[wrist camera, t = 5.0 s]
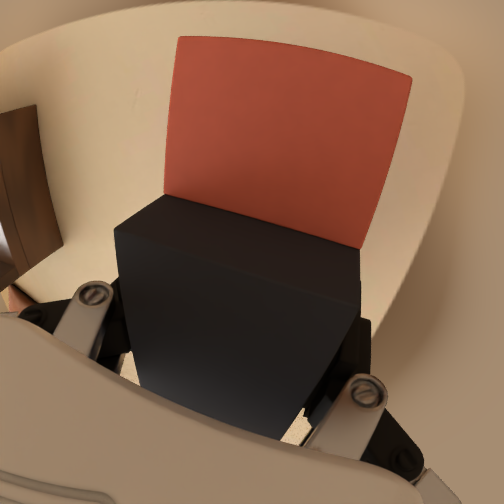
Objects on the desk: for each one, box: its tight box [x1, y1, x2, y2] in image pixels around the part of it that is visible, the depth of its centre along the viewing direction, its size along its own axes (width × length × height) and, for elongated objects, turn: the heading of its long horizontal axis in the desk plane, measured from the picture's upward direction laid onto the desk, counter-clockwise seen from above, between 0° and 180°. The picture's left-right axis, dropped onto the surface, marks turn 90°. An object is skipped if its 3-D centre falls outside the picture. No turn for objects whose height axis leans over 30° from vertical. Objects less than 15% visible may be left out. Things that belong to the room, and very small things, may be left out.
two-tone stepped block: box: [114, 36, 412, 441], centre depth 9 cm, size 12×6×5 cm, turn 171°
